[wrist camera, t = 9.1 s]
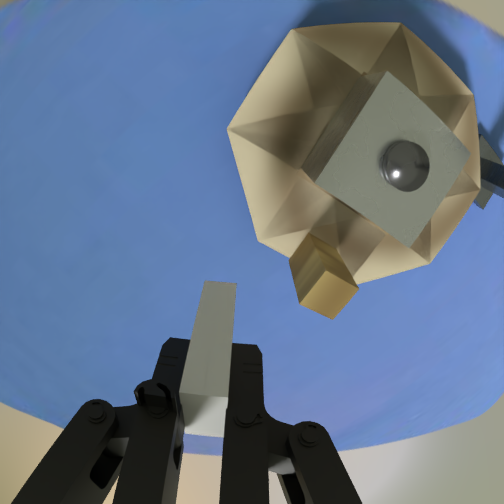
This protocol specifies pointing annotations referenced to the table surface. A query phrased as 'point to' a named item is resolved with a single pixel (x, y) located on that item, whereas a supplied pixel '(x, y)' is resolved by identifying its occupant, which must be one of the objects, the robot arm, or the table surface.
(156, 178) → the table surface
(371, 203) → the cover
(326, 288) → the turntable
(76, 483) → the robot arm
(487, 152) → the dial post
